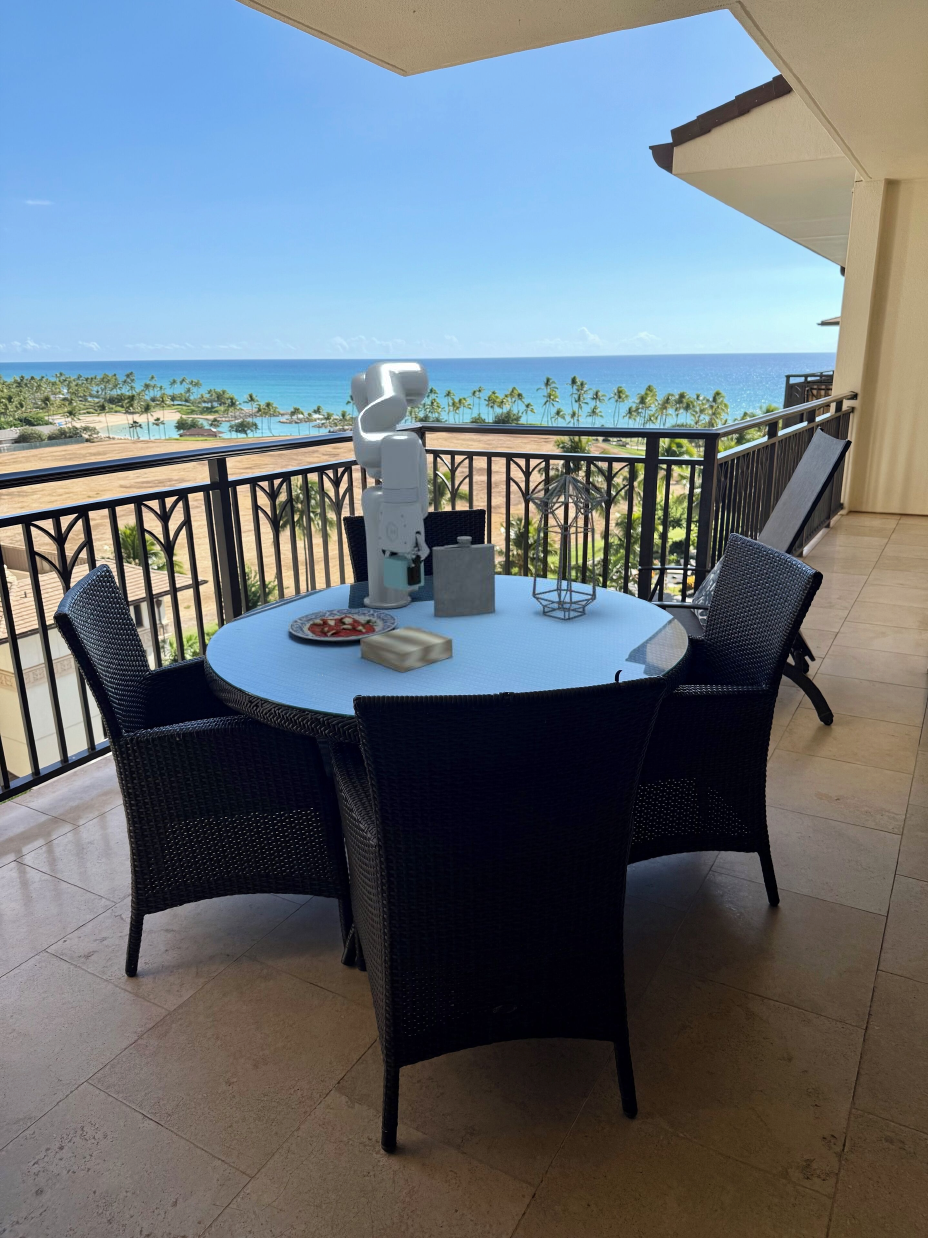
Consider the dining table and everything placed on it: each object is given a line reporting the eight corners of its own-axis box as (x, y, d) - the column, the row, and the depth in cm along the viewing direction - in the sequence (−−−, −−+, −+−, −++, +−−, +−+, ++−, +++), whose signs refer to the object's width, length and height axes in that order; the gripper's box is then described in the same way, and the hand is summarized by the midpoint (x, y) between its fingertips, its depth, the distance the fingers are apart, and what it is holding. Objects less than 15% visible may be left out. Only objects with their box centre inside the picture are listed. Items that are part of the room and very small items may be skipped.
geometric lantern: (520, 614, 206) (522, 475, 197) (562, 604, 216) (565, 471, 207) (567, 626, 195) (571, 478, 186) (608, 614, 205) (614, 474, 196)
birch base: (410, 642, 185) (410, 625, 183) (452, 656, 175) (452, 638, 174) (361, 657, 175) (360, 639, 174) (402, 672, 166) (401, 653, 164)
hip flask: (493, 609, 210) (492, 533, 205) (497, 613, 207) (497, 536, 201) (433, 614, 207) (431, 537, 201) (436, 618, 203) (434, 540, 197)
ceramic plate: (293, 653, 179) (292, 640, 178) (285, 622, 203) (284, 610, 202) (407, 642, 186) (406, 629, 185) (386, 613, 210) (386, 602, 209)
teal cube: (405, 580, 175) (404, 553, 173) (424, 585, 170) (423, 557, 169) (384, 585, 171) (382, 557, 169) (402, 590, 166) (401, 561, 165)
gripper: (360, 494, 169) (365, 578, 174) (414, 502, 157) (417, 592, 162) (388, 491, 174) (392, 572, 179) (442, 497, 162) (444, 585, 167)
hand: (404, 581), depth 170 cm, fingers closed on teal cube, 6 cm apart
